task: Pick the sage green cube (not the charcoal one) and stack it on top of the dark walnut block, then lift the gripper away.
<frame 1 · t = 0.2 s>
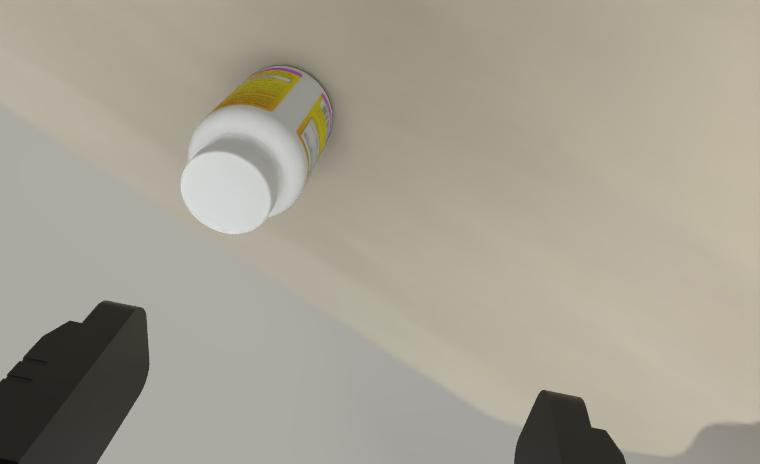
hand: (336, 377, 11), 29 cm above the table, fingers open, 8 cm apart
supplement bottle: (288, 111, 39), on the table
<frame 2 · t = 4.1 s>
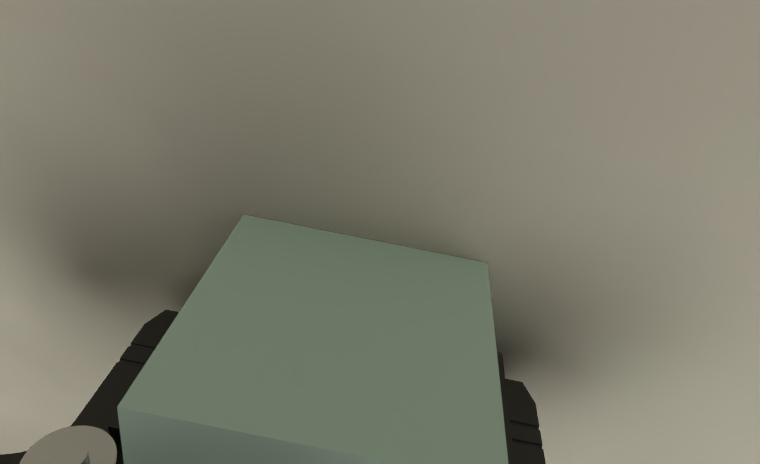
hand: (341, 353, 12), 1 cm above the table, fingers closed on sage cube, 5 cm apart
sage cube: (348, 331, 13), on the table, touching gripper
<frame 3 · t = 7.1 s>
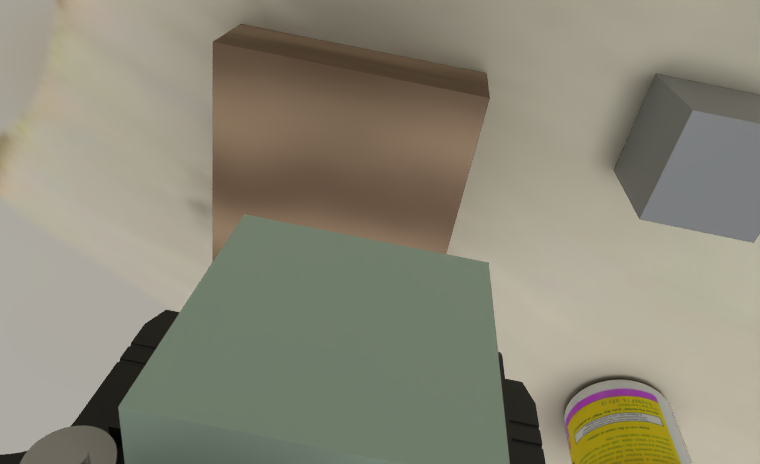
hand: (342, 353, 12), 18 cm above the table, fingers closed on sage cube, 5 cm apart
sage cube: (349, 331, 13), point 18 cm above the table, touching gripper
charcoal cube: (684, 134, 27), on the table
supplement bottle: (613, 408, 37), on the table
walnut block: (348, 157, 30), on the table
when the fingers open (6 cm above the table, at t = 10.1 s): sage cube drops 2 cm, resting on walnut block.
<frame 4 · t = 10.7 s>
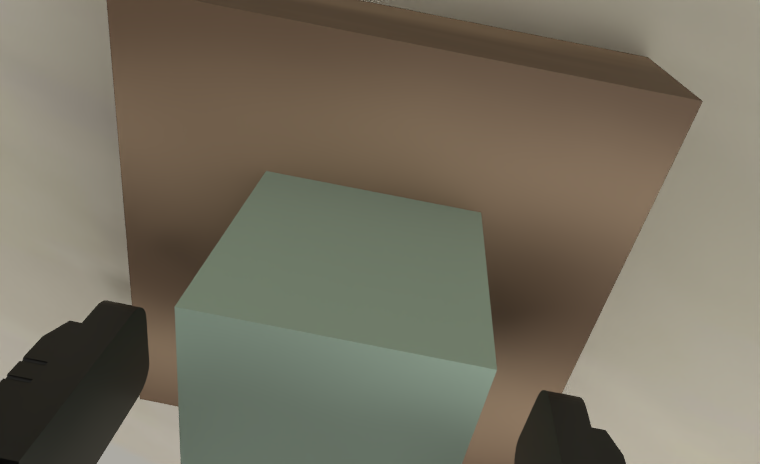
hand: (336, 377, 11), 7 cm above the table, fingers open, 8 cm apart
sage cube: (358, 278, 14), point 4 cm above the table, touching walnut block
walnut block: (376, 208, 18), on the table, touching sage cube
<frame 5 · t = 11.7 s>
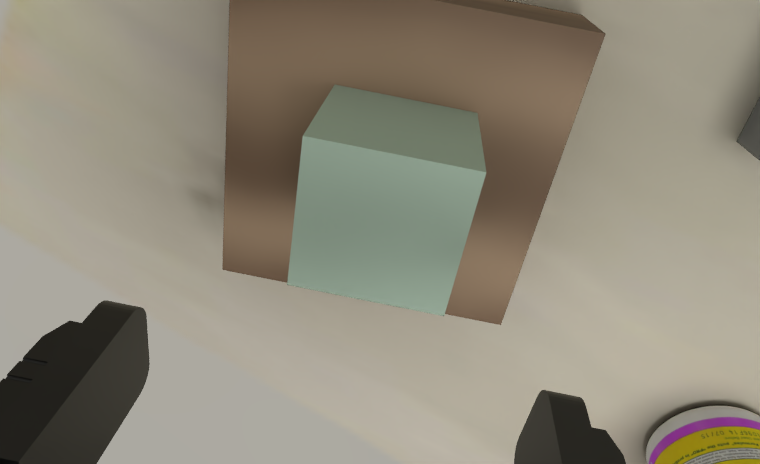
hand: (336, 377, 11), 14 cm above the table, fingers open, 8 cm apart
sage cube: (392, 164, 21), point 3 cm above the table
supplement bottle: (704, 439, 31), on the table
walnut block: (394, 131, 24), on the table
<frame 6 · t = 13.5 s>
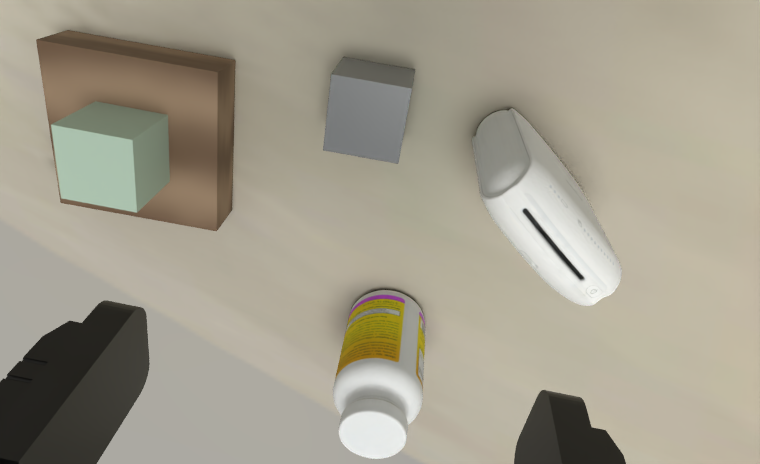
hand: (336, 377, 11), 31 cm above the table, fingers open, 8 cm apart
sage cube: (133, 142, 39), point 3 cm above the table, touching walnut block
charcoal cube: (374, 98, 40), on the table
supplement bottle: (387, 316, 49), on the table
photo printer: (528, 166, 41), on the table
walnut block: (158, 124, 43), on the table, touching sage cube
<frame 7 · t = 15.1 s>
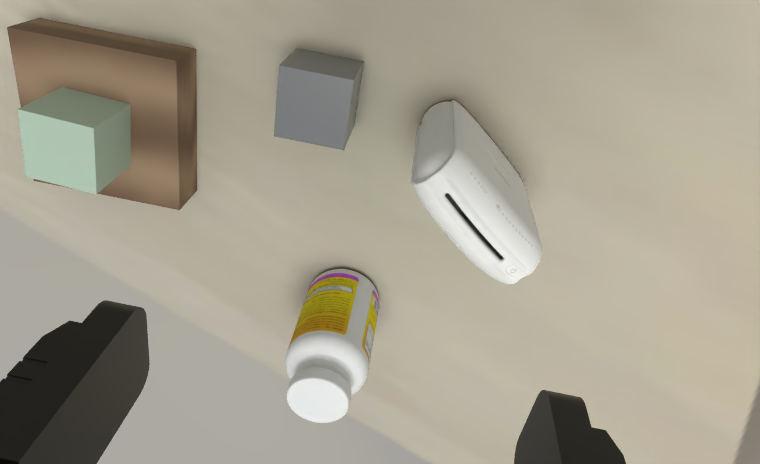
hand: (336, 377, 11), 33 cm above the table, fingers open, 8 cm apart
sage cube: (97, 127, 42), point 4 cm above the table, touching walnut block
charcoal cube: (326, 88, 42), on the table
supplement bottle: (345, 294, 52), on the table
photo printer: (472, 154, 44), on the table
walnut block: (126, 108, 45), on the table, touching sage cube
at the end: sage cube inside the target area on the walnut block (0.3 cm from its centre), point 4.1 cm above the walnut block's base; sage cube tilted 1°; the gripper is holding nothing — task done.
